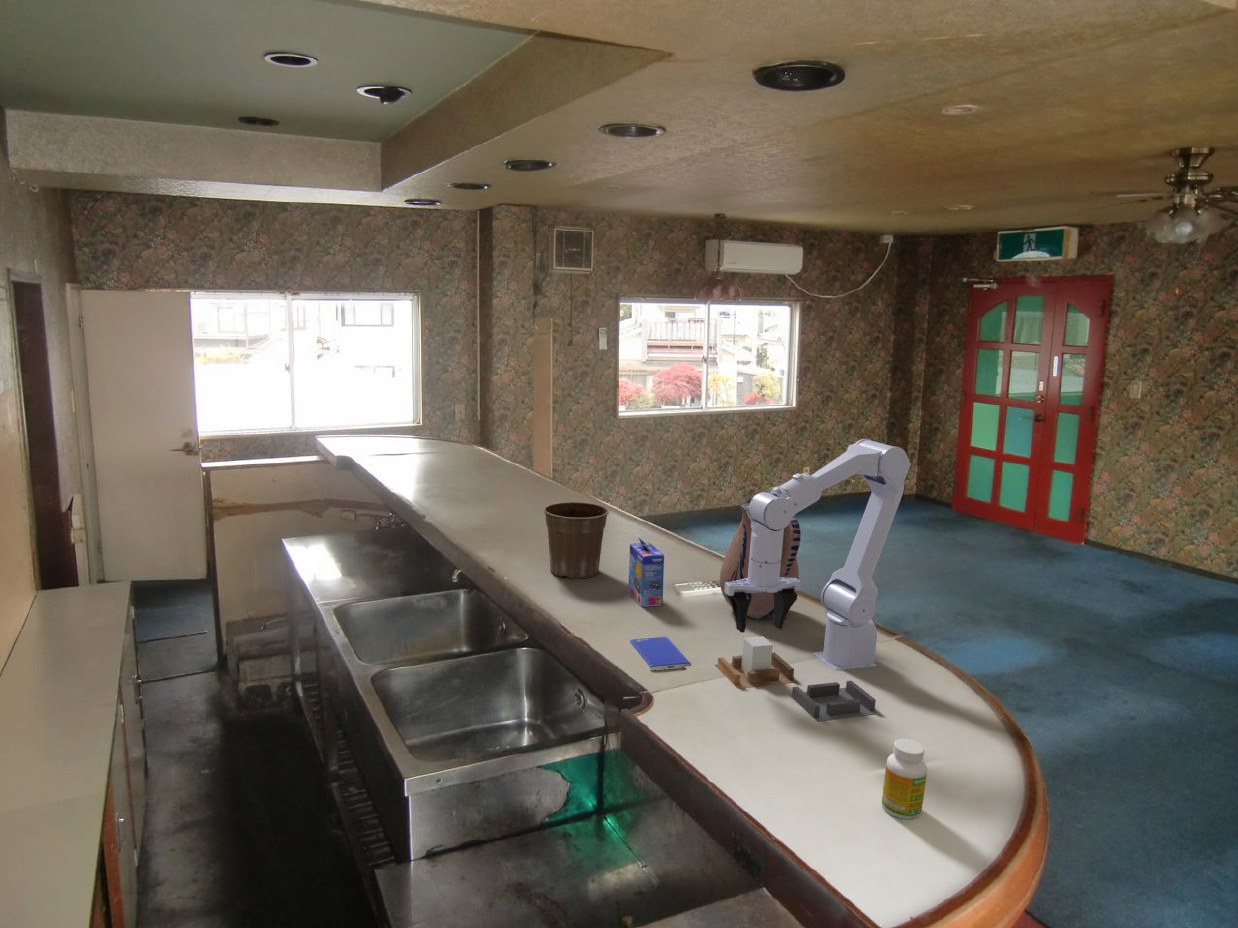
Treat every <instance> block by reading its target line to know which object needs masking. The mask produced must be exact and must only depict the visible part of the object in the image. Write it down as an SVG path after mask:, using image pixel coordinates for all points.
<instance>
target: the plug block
mask: <svg viewBox="0 0 1238 928" xmlns="http://www.w3.org/2000/svg"><path fill="white" fill-rule="evenodd" d="M773 648H774V644H772V643H771V642H770V641H769V640H768V639H767V638H766V637H764V636H753V637H743V640H742V654H741V656H742V664H741V671H742V672H743V673H744V674H745V675H746V676H747V677H748V671H755V670H765V669H771V660H772V653H773Z"/></svg>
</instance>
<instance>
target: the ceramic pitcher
mask: <svg viewBox="0 0 1238 928" xmlns="http://www.w3.org/2000/svg"><path fill="white" fill-rule="evenodd" d="M752 499H753V498H749V499H747V500H746V502H744V503H741V504H740V505H739V508H740V509H741V513H742V515H741V517H742V518H741V521H740V523H739V526H738V527H737V529H736V531H735V533H734V535H733V537H732V539H731V541H730V544H729V546H728V548H727V551H726V553H725V556H724V558H723V561H722V564H721V568H720V573H719V585H720V590H721V593H722V596H723V598H724V600H725V601H726V603H727V604H728V605H729V606H730V608H731V609H732V610H733V608H732V605H731V602H730V600H729V598H728V596H727V594H726V593H725V592H724V589H725V582H732V581H736V580H741V579H745V578H748V568H749V556H750V544H751V532H752V528H751V520H750V518H749V517H748V514H747V507H748V506H749V504H750V502H751V500H752ZM801 532H802V531H801V526H800V524H799V522H798V520H797V519H796V518H794V516H793V517H792V519H791V522H790V523H789V525H788V526H787V527H786V528H784V533H783V544H782V555H781V566H780V577H781V578H796V579H798V580H799V581H800V579H799V578H800V577H799V576H800V573H799V564H798V556H797V555H798V551H799V548H800V546H801V545H800V544H801ZM794 592H795V593H796V594H797V595H798V591H794ZM745 595H746V596H747V599H748V600H750V601H751V602H750V605H749V608H748V611H747V616H746V617H749V618H753V619H756V620H762V619H763V620H764V619H773V614H774V594H773V593H768V592H756V593H745Z"/></svg>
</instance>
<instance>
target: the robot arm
mask: <svg viewBox="0 0 1238 928" xmlns="http://www.w3.org/2000/svg"><path fill="white" fill-rule="evenodd" d="M910 467H911V462H910V459H909V457H908V455H907V453H906V451H905V450H904V449H903V448H902V447H900V446H893V445H889V444H885V443H883V442H882V443H881V442H878V441H874V440H872V439H870V438H861V439H859V440H858V441H856V442H855V443H853V444H849V445H848V446H847V449H846V451H845V452H844V453H842V454H841V455H839V456H838V457H836V458H835V459H833V460H832V461H830V462H829V463H828V464H826V465H824V466H823V467H821V468H820V469H818V470H817V471H816V472H814V473H812V474H809V473H795V474H793V475H792V479H790V480H788V481H787V482H784V483H783V484H781V485H779V486H775V487H773V488H772V490H771V491H770V492H766V491H765V492H764V491H762V492H759V493H757V494H756V495H754V496H753V497H752V498H751V499H752V500H751V502H750V504H749V506H748V507H747V514H748V517H749V518H750V520H751V528H752V532H751V544H750V556H749V568H748V578H745V579H741V580H736V581H732V582H725V589H724V592H725V593H726V594H727V596H728V598H729V600H730V602H731V605H732V607H731V609H732V608H733V609H732V610H733V615H734V619H735V627H736V630H737V631H739V633H741V634H742V633H745V631H746V626H747V617H748V616H747V611H748V608H749V605H750V602H751V601H750V600H748V599H747V596H746V595H745V593H756V592H768V593H773V594H774V614H773V617H772V626H774V627H775V628H776V629H777V630H781V629H782V628H783V626H784V623H785V620H786V618H787V616H788V614H789V611H790V610H791V608H792V607H793V605H794V604H795V603H796V601H797V600H798V593H797V594H796V593H795V592H794V591H797V592H799V591H801V580H800V579H799V580H798V579H796V578H781V577H780V566H781V555H782V544H783V533H784V528H786V527H787V526H788V525H789V523H790V522H791V519H792V517H793V518H794V516H796V514H798V513H799V512H801V511H802V510H804V509H807V508H808V507H809V506H811V505H813V504H815V503H816V502H818V501H819V500H820V499H821V496H822V491H824V490H826V489H828V488H831V487H832V486H834V485H836V484H838V483H840V482H842V481H845V480H846V479H849V478H850V477H852V476H854V475H860V476H861V477H862V478H863V479H864V480H865V481H866V482H867V484H868V488H869V489H870V491H871V494H870V496H869V498H868V502H867V504H866V507H865V510H864V511H863V512H864V513H863V515H862V518H861V520H860V523H859V526H858V529H857V532H856V534H855V536H854V539H853V542H852V545H851V548H850V550H849V553H848V555H847V558H846V560H845V564H844V566H843V567H842V568H838V569H837V570H835V571H833V572H832V574H831V576H830V578H829V580H828V582H827V583H826V584H825V585H824V586H823V588H822V589H821V590H822V591H821V593H820V602H821V604H822V606H823V607H824V608H825V612H824V613H825V615H826V623H825V631H824V643H823V650H822V651H816V652H813V654H814V655H815V656H816V657H818V659H820V660H821V661H822V662H824V663H825V664H826V665H827V666H829V667H830V668H831V669H832V670H834V671H842V670H850V669H860V668H861V669H862V668H869V667H870V668H871V667H877V664H876V663H875V656H876V649H877V641H878V640H877V639H878V632H877V627H876V625H875V623H874V621H873V620H872V618H873V617H874V614H875V612H876V608H877V607H876V605H877V604H876V600H877V597H878V595H879V590H878V588H877V586H876V584H875V581H874V579H873V575H874V572H875V570H876V567H877V565H878V562H879V559H880V557H881V554H882V550H883V548H884V545H885V542H886V540H887V538H888V535H889V532H890V529H891V527H892V524H893V521H894V519H895V516H896V513H897V510H898V509H899V506H900V503H901V500H902V497H903V494H904V490H905V481H906V478H907V475H908V472H909V471H910Z"/></svg>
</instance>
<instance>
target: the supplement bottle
mask: <svg viewBox="0 0 1238 928" xmlns="http://www.w3.org/2000/svg"><path fill="white" fill-rule="evenodd" d="M892 749H893V750H892V751H893V752H892V753H891V754H889V756H888V757H887V761H886V764H885V770H884V771H885V772H884V779H883V787H882V796H881V806H882V809H883V810H884V811H886V813H888V814H889V815H891V816H892V817H893V816H894V817H895V818H897V819H898V818H899V819H902V820H914V819H917V818H919V817H920V816H921V814H922V811H923V804H924V797H925V789H926V781H927V775H928V766H927V764H926V762H925V761H924V755H925V747H924V746H923V745H922V744H921V743H919V742H917V741H916V740H911V739H908V738H900V739H896V740H895V741H894V743H893V748H892Z"/></svg>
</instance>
